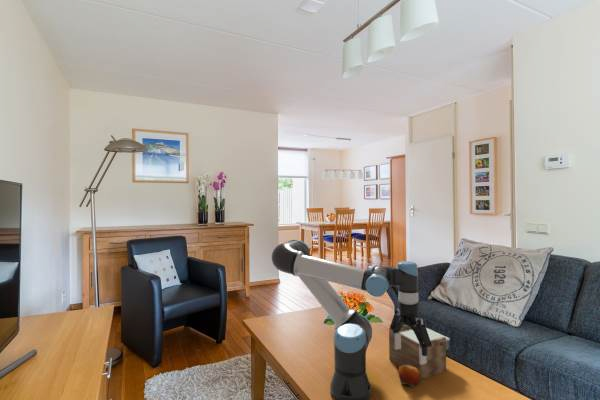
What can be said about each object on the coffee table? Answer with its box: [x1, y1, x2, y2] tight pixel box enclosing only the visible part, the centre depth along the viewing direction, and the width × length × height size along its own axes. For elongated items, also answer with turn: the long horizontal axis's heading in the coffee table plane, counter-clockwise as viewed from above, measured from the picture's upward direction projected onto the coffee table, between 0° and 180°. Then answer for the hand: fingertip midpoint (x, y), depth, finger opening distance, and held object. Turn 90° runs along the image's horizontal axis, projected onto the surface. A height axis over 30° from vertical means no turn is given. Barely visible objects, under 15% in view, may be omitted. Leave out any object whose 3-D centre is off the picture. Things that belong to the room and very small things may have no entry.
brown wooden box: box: [388, 324, 447, 381], centre depth 140 cm, size 15×19×14 cm
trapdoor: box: [399, 327, 451, 351], centre depth 141 cm, size 17×15×5 cm
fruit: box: [398, 365, 420, 389], centre depth 126 cm, size 8×8×8 cm
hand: (409, 355), depth 127 cm, fingers open, 13 cm apart
